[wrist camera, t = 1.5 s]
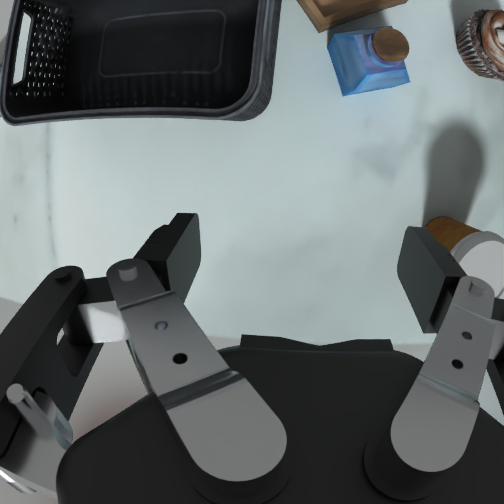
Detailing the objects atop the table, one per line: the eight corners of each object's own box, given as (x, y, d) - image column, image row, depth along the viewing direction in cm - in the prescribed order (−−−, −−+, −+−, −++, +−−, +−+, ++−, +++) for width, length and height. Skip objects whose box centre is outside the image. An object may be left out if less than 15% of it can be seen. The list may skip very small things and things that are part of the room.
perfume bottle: (343, 96, 33) (368, 84, 22) (327, 47, 31) (344, 15, 20) (391, 87, 32) (434, 75, 21) (376, 39, 30) (411, 9, 19)
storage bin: (62, 120, 37) (-6, 129, 24) (78, -4, 29) (19, -27, 17) (268, 124, 35) (259, 123, 23) (284, -21, 28) (282, -78, 15)
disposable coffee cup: (478, 239, 37) (525, 277, 26) (431, 284, 40) (467, 333, 29) (446, 189, 35) (496, 216, 24) (395, 238, 39) (430, 282, 28)
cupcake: (462, 4, 25) (501, -17, 16) (512, 50, 26) (556, 43, 17) (439, 50, 29) (480, 35, 19) (493, 98, 30) (539, 98, 20)
